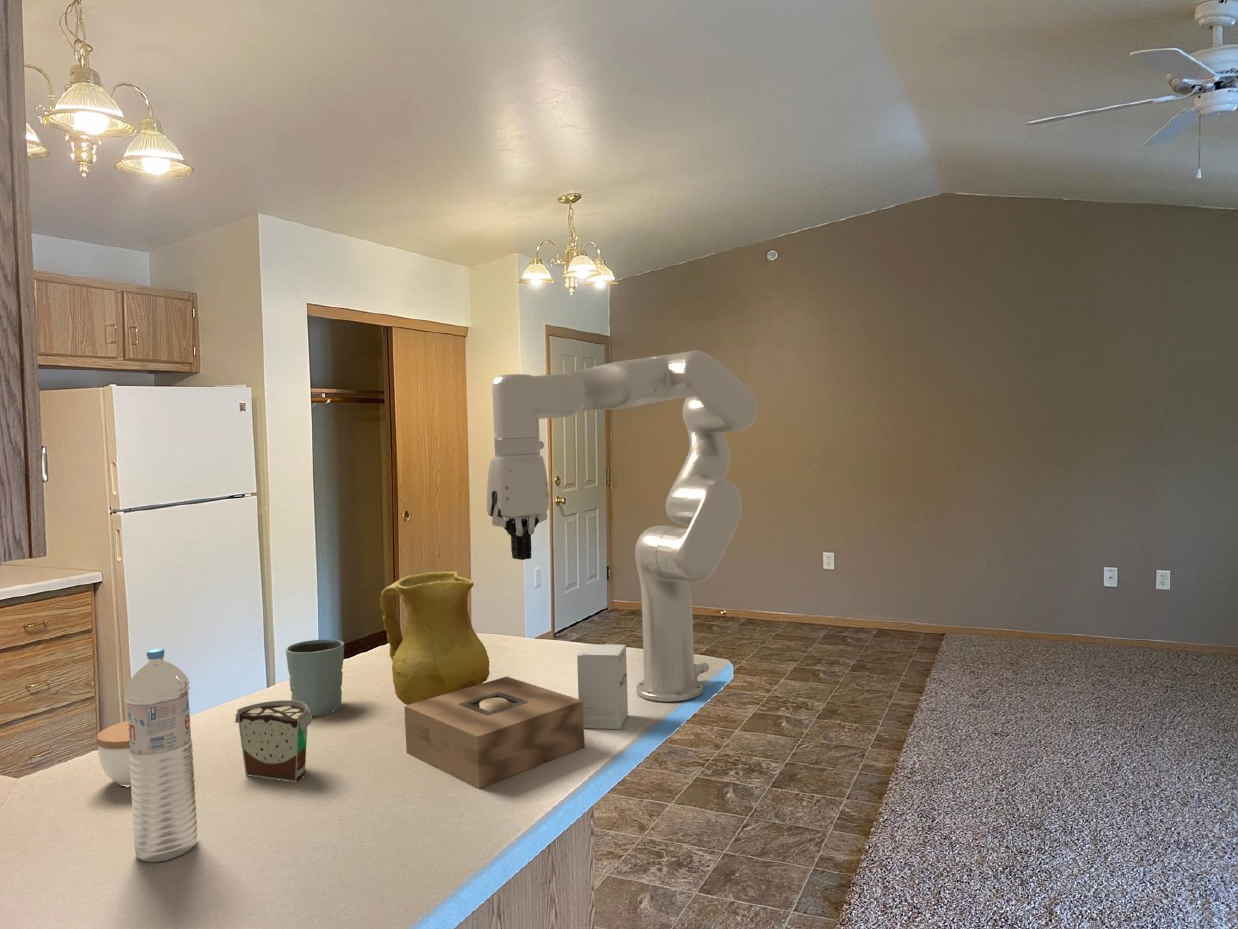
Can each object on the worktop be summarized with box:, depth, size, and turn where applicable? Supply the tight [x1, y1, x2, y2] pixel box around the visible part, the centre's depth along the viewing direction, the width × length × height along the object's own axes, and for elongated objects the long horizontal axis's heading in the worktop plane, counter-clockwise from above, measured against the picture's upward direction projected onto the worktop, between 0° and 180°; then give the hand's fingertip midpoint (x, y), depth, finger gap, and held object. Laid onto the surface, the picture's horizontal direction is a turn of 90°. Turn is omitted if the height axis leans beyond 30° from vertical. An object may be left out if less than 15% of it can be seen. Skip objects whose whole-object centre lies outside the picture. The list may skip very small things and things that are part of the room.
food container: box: [234, 699, 313, 783], centre depth 125 cm, size 12×6×10 cm, turn 71°
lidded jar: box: [96, 720, 131, 786], centre depth 123 cm, size 11×11×9 cm
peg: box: [479, 698, 508, 711], centre depth 130 cm, size 4×4×7 cm
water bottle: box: [124, 647, 198, 863], centre depth 101 cm, size 7×7×25 cm
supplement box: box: [576, 643, 629, 730], centre depth 141 cm, size 7×7×13 cm
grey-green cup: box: [285, 638, 345, 717], centre depth 153 cm, size 10×10×12 cm
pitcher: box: [379, 571, 490, 706], centre depth 148 cm, size 17×19×25 cm
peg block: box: [404, 676, 585, 790], centre depth 130 cm, size 20×20×8 cm
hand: (521, 558), depth 137 cm, fingers closed
